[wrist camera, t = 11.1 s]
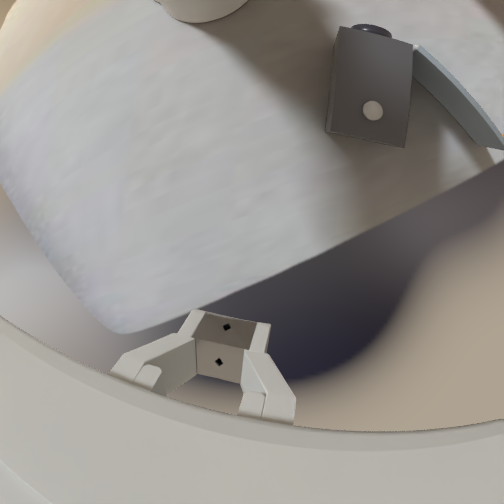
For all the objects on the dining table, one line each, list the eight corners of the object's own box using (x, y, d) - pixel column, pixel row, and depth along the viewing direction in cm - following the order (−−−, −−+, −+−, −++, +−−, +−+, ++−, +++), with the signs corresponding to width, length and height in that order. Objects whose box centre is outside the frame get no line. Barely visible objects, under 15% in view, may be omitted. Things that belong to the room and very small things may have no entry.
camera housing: (334, 36, 27) (340, 12, 20) (393, 50, 26) (414, 31, 19) (325, 131, 33) (330, 131, 25) (384, 144, 32) (406, 148, 24)
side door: (394, 61, 27) (413, 46, 20) (400, 54, 26) (420, 38, 19) (477, 145, 28) (507, 151, 21) (482, 137, 27) (512, 142, 21)
